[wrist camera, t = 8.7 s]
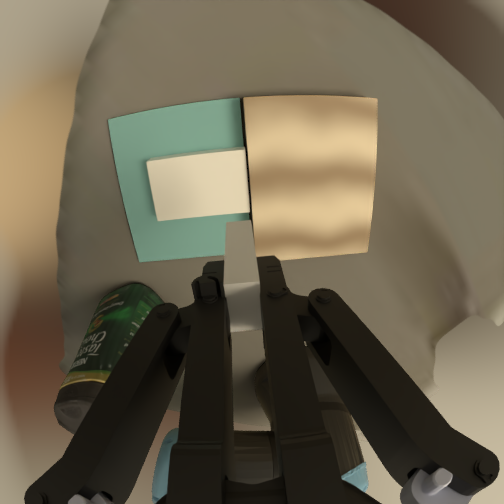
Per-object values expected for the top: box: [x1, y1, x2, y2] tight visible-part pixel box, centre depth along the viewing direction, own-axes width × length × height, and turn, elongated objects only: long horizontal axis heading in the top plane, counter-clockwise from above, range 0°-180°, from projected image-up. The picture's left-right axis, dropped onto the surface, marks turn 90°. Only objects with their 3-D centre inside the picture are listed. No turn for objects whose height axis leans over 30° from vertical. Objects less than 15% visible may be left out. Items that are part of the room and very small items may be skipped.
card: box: [146, 147, 250, 221], centre depth 27 cm, size 6×9×2 cm, turn 94°
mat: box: [108, 98, 249, 262], centre depth 28 cm, size 16×13×1 cm
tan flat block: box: [243, 95, 377, 260], centre depth 27 cm, size 16×12×2 cm
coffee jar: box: [54, 284, 164, 435], centre depth 28 cm, size 10×8×19 cm
